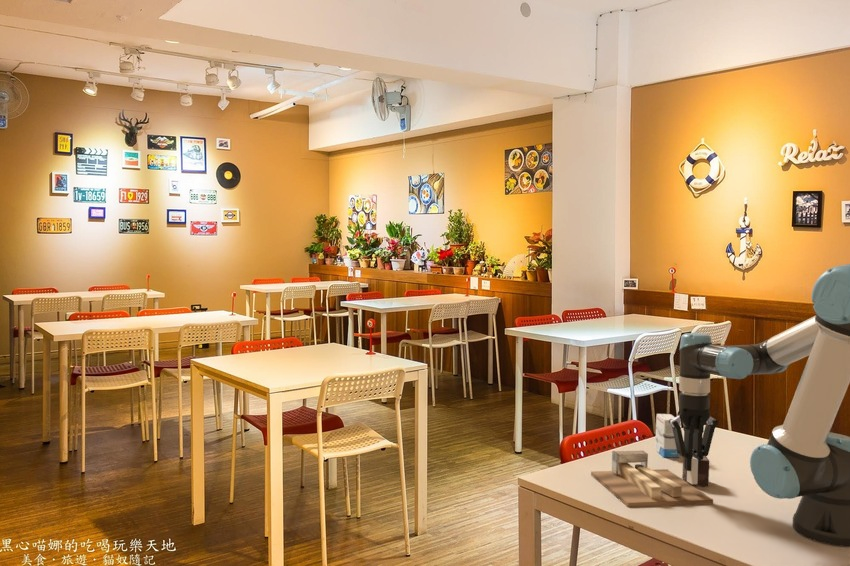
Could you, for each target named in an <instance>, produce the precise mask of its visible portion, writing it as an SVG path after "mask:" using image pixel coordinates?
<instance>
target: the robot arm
mask: <svg viewBox="0 0 850 566" xmlns="http://www.w3.org/2000/svg"><path fill="white" fill-rule="evenodd" d="M811 302H812V303H813V305H812V308H813V310H814V312H815V313H816V314H815V315H814V316H812V317H810V318H808V319H806V320H804V321H802V322H799V323H798V324H796V325H793V326H791V327H790V328H788V329H785V330H784V331H781V332H780V333H778V334H776V335H773V336H772V337H770V338H768V339H766V340H764V341H762V342H760V343H754V344H739V345H721V344H716V343H715V344H714V343H713V342H712V337H711V335H710V334H707V333H702V332H701V333H699V332H698V333H696V332H687V333H686V332H685V333H684V334H682V335H681V336H680V343H679V349H678V350H679V382H678V390H679V391H680V392H679V393H678V412H677V414H676V416H674V417H675V418H674V419H669V423H670V425H671V427H672V429H673V434H674V439H675V444H676V449H677V453H678V454H679V455H678V456H680V457H682V458H683V457H684V468H685V470H687V482H689V483H691V484H697V481H698V471H699V470H700V469H701V460H702V459H703V456H706V457H708V456H709V454H710V453H709V452H710V449H711V444H712V441H713V437H714V433H715V429H716V428H717V426H718V425H719V420H718V419H715V418H713V417H712V416H711V413H710V410H709V409H710V407H711V406H710V405H711V404H710V402H711V401H710V400H711V397H710V393H711V375H715V376H718V377H724V378H727V379H731V380H732V379H736V380H743V379H745V378H747V376H753V375H775V374H777V373H783V372H785V371H786V370H787V368H788V367H789V365H790V364H792V363H795V362H797V361H800V360H802V359H804V358H806V357H808V359H807V360H806V364H805V366H804V369H803V371H802V374H801V377H800V378H799V379H800V380H799V382H798V384H797V387H796V390H795V392H794V396H793V398H792V400H791V402H790V405H789V408H788V411H787V414H786V416H785V419H784V421H783V424H781V425H777V426H775V427H774V428H773V429H772V430H771V433H770V436H769V439H768V441H767V443H765V444H761V445H758V446H757V447H755V448H754V449H753V451H752V453H751V454H750V459H749V460H750V461H749V464H750V467H749V468H750V471H751V473H752V475H753V479H754V481H755V482H756V484H757V486H758V487H759V488H760V489H761V490H762V491H763V492H764V493H766V494H767V495H768V496H770V497H772V498H775V499H779V500H780V499H783V500H784V499H789V500H790V499H795V498H799V497H801V498H800V501H799V503H798V506H797V508H796V510H795V513H794V514H793V515H792V528H793V530H794V531H795V532H796V533H797V534H799V535H801V536H803V537H805V538H807V539H809V540H813V541H815V542H818V543H822V544H825V545H832V546H836V547H837V546H838V547H845V548H846V547H848V548H849V547H850V436H848V435H844V434H841V433H835V432H831V429H832V427H833V424H834V421H835V419H836V416H837V414H838V411H839V409H840V407H841V405H842V402H843V400H844V397H845V395H846V392H847V390H848V387H849V385H850V263H847V264H844V265H843V264H842V265H837V266H834V267H831V268H829V269H827V270H825V271H824V272H823V273H822V274H820V275H819V277H818V278H817V280H816V281H815V282H814V285H813V288H812V291H811ZM681 425H683V427H681ZM682 428H683V432H684V433H683V432H682ZM693 456H694V457H693Z"/></svg>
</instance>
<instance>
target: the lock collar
mask: <svg viewBox="0 0 850 566" xmlns="http://www.w3.org/2000/svg"><path fill="white" fill-rule="evenodd" d="M611 454H612V455H611V471H612V472H613V473H615V474H616V475H618V464H619V463H629V464H630V463H631V464H632V463H640V465H643V466H644V467H645V466H646V467H647V468H648V463H649V461H648V459H649V453H647V452H646V451H644V450H616V451H615V450H614V451H612V453H611Z"/></svg>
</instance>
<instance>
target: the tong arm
mask: <svg viewBox="0 0 850 566" xmlns="http://www.w3.org/2000/svg"><path fill="white" fill-rule="evenodd" d="M634 468H635V469H637V470H638V471H640V472H641V473H642V474H644V475H645V476H646V477H648V478H649V479H651V480H652V481H653V482H655V483H656V484H657V485H659V486H660V487H661V491H663V492H665V493H667V494H668V495H670V496H672V497H680V496H681V494H682V486H681V485H679V484H677V483H675V482H673V481H672V480H670V479H668V478H666V477H664V476H662V475H660V474H659V473H657V472H655V471H653V470H654V469H651V468H650V467H648V466H647V467H646V466H645V467H644V466H643V465H641V463H640V464H639V463H638V464H634Z"/></svg>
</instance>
